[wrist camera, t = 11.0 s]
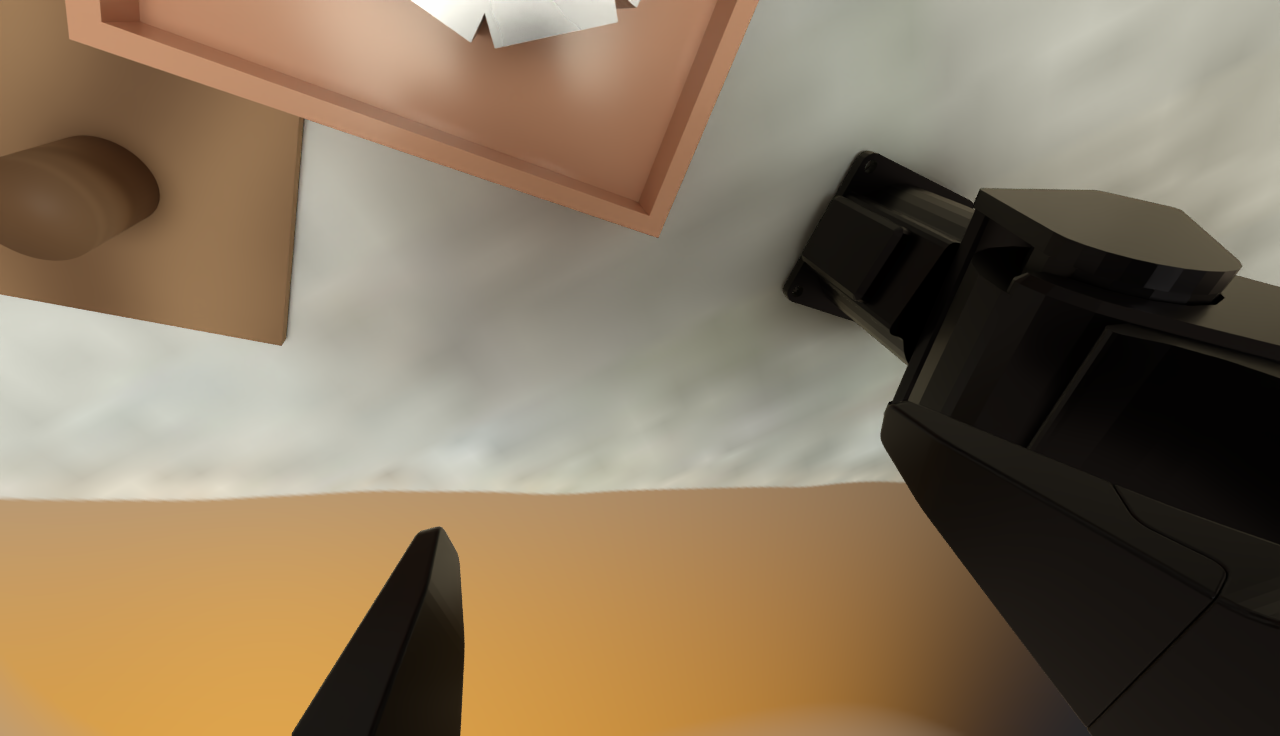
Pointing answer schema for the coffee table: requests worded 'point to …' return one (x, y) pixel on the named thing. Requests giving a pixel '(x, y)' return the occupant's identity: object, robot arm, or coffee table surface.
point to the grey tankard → (523, 17)
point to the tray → (462, 85)
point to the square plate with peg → (140, 186)
